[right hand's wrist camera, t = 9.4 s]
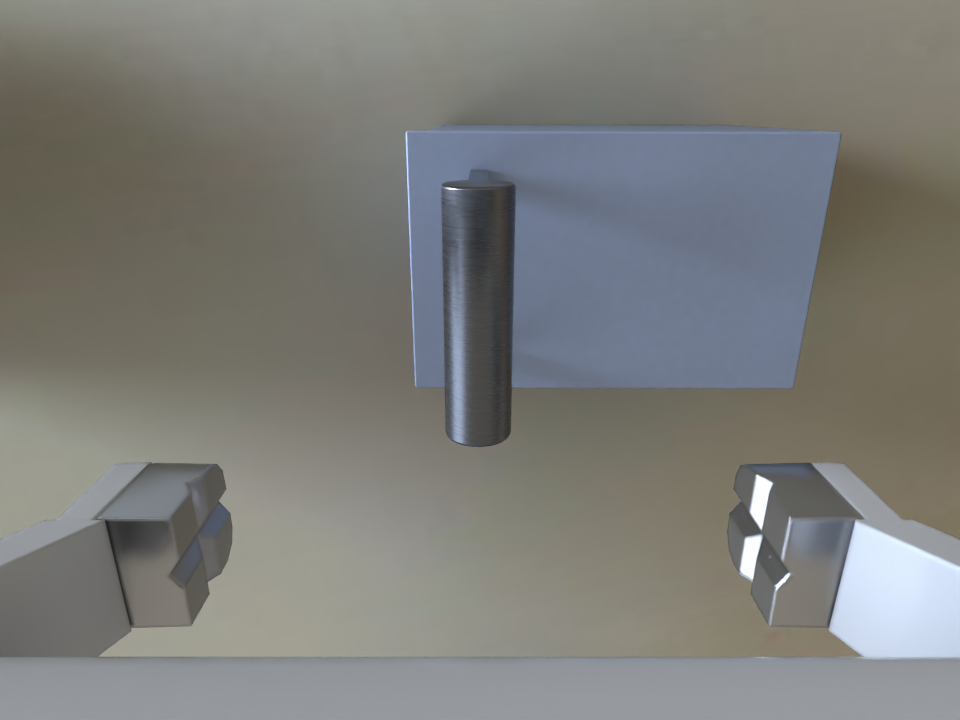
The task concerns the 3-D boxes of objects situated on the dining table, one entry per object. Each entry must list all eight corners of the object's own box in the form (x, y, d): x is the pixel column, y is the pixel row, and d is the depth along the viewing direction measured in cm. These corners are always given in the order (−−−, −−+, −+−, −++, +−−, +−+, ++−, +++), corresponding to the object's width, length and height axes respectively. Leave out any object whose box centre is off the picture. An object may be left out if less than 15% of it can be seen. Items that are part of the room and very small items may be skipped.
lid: (416, 380, 28) (392, 481, 20) (407, 130, 24) (374, 139, 17) (785, 381, 28) (898, 482, 20) (831, 131, 24) (990, 140, 17)
